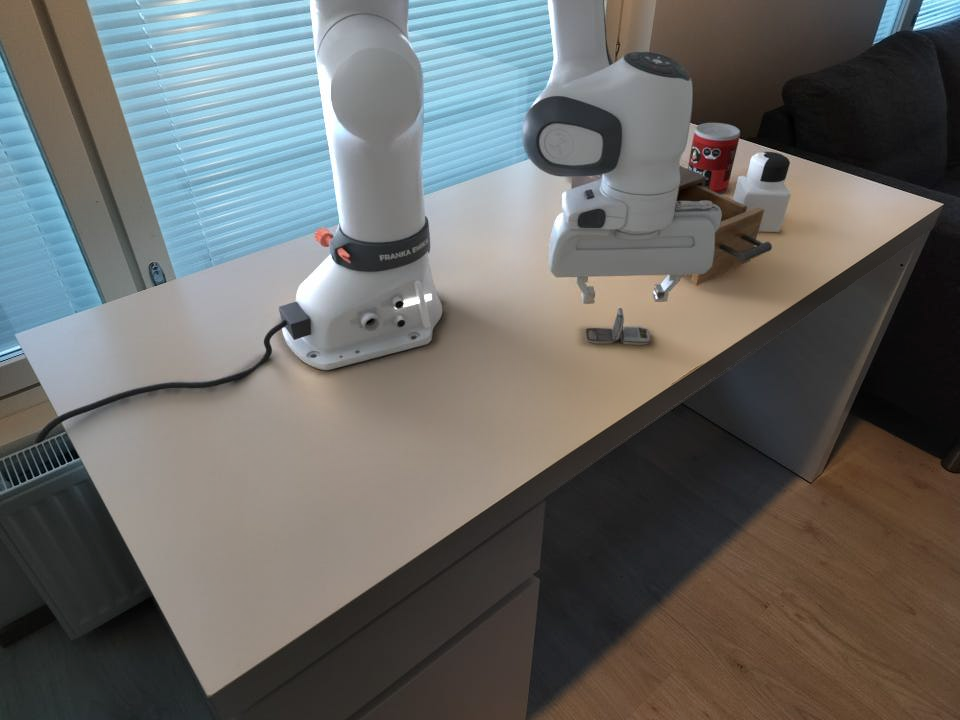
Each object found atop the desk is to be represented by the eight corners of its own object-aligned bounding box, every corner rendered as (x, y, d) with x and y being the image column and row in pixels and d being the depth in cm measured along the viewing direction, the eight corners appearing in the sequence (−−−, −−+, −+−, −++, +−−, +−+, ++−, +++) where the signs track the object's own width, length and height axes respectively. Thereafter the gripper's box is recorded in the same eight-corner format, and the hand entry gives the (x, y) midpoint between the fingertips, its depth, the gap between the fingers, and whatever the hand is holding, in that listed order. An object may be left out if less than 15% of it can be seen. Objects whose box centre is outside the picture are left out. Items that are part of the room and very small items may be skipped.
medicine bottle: (770, 214, 121) (788, 148, 114) (780, 233, 116) (800, 165, 108) (729, 212, 122) (744, 147, 115) (736, 231, 116) (753, 163, 109)
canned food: (677, 181, 133) (687, 124, 126) (713, 176, 135) (725, 120, 128) (698, 197, 127) (710, 139, 120) (735, 191, 129) (749, 134, 122)
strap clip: (647, 332, 94) (652, 306, 91) (650, 345, 91) (655, 319, 89) (585, 330, 94) (588, 304, 92) (586, 343, 92) (589, 317, 89)
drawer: (776, 274, 104) (792, 221, 98) (721, 299, 98) (735, 245, 93) (675, 224, 117) (684, 175, 111) (623, 244, 111) (629, 194, 106)
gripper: (717, 189, 83) (696, 285, 92) (549, 192, 83) (544, 289, 92) (733, 212, 78) (709, 312, 87) (555, 216, 78) (549, 316, 87)
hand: (623, 300), depth 89 cm, fingers open, 8 cm apart
